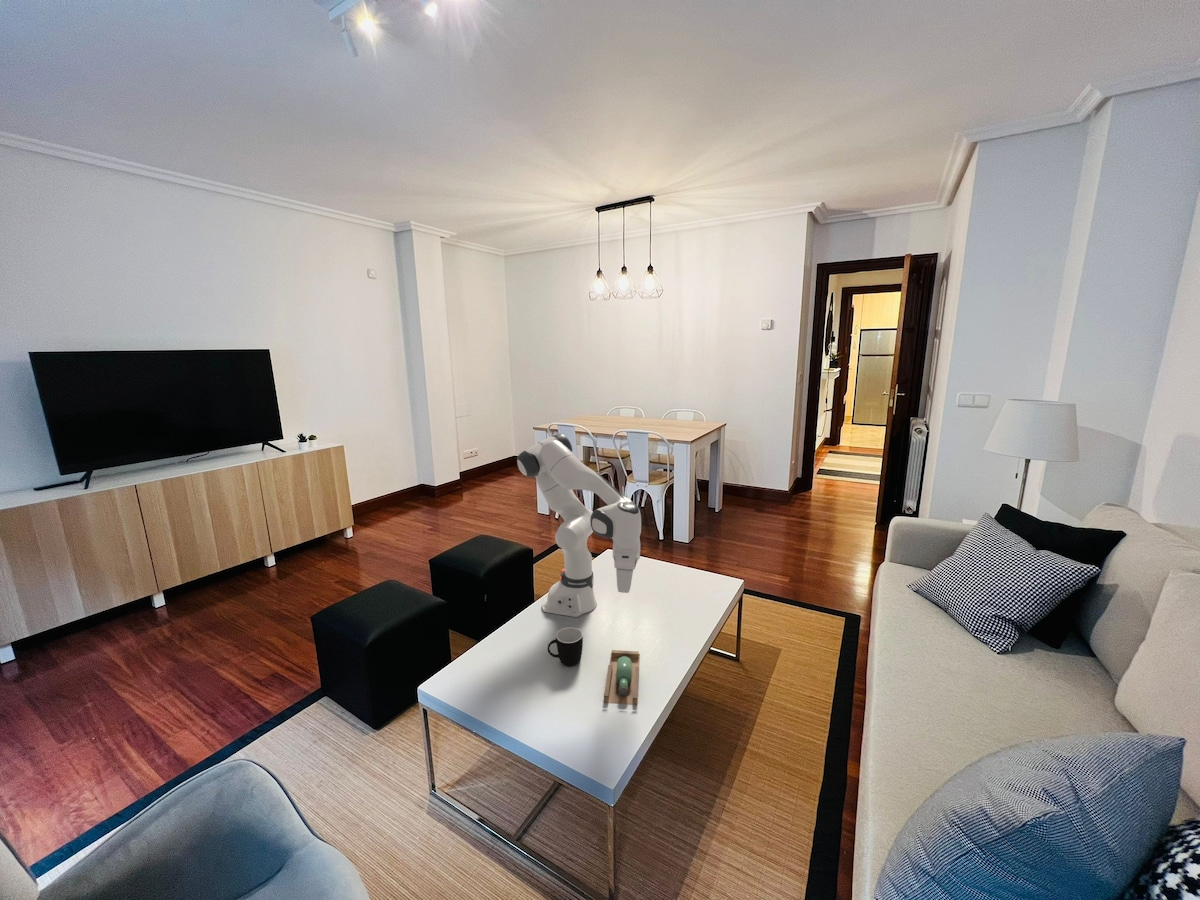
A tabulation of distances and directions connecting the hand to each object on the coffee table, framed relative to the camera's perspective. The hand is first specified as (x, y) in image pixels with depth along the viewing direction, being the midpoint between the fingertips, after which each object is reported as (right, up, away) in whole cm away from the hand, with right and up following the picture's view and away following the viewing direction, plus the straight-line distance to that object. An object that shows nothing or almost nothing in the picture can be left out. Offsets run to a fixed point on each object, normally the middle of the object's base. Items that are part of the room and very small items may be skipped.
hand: (624, 590), depth 158 cm
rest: (-1, -27, -3) cm, 27 cm away
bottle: (0, -24, 0) cm, 24 cm away
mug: (-20, -26, +5) cm, 33 cm away
